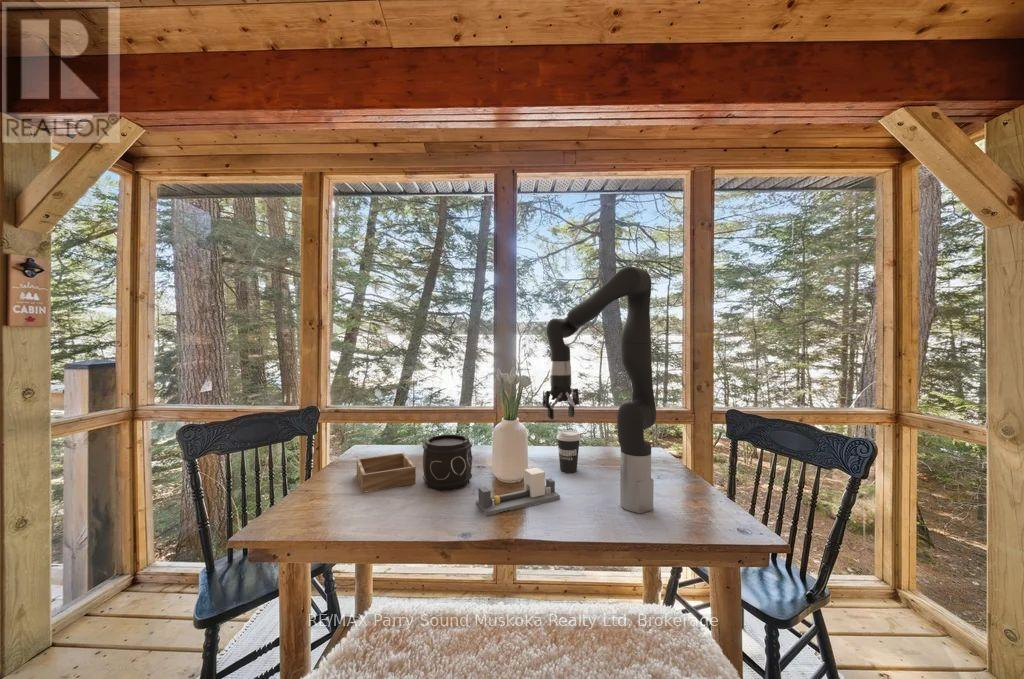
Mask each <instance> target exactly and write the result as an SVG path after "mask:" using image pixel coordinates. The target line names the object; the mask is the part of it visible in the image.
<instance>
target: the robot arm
mask: <svg viewBox="0 0 1024 679" xmlns="http://www.w3.org/2000/svg"><path fill="white" fill-rule="evenodd" d="M651 296H652V278H651V275H650V274H649V272H648V271H646V270H645V269H644V268H640V267H636V266H633V265H632V266H631V265H628V266H624V267H622V268H621V269H619V270H618V271H617V272H616V273H615V274H613V276H611V277H610V279H608V280H607V281H606V282H605V283H604V284H603V285H601V287H600V288H598V289H597V290H596V291H595V292H594V293H593V294H592V295H590V296H588V297H587V298H586V299H585V300H583V301H582V302H580V303H578V304H577V305H575V306H574V307H572V308H571V309H570V310H568V312H567V316H566V317H564V318H552V319H550V320H549V321H548V322H547V324H546V330H545V333H546V337H547V342H548V345H549V348H550V367H549V368H550V369H549V370H550V372H549V373H550V376H549V377H550V390H545V389H544V390H543V391H542V408H543V407H544V408H546V409H547V418H548V419H549V420H554V419H555V418H554V417H555V416H554V415H555V414H554V407H555V406H556V405H557V404H558V403H560V402H565V403H567V404H568V406H567V407H568V408H567V409H568V417H569V418H574V416H575V406H578V405H579V404H580V395H579V394H580V393H579V389H578V388H577V387H572V388H571V386H572V366H571V349H570V348H571V347H570V346H569V345H567V344H565V340H564V339H566V338H569V337H571V336H573V335H574V334H575V333H576V332H577V331H579V330H580V328H581V327H582V326H585V325H587V324H588V323H589V322H591V321H593V320H594V319H596V318H597V317H598V316H599V315H600V314H601V313H602V312H603V310H604V309H605V308H606V307H608V305H610V304H611V303H613V302H614V301H617V300H619V299H620V298H623V297H626V301H627V316H626V319H625V322H624V325H623V328H622V332H621V334H620V335H621V336H620V357H621V358H620V359H621V362H622V364H623V365H622V366H623V367H624V369H625V372H626V373H627V375H628V377H629V381H630V384H631V393H632V394H631V395H632V396H631V401H626V402H624V403H622V404H621V405H620V406H619V408H618V410H617V417H616V420H617V427H616V428H617V440H618V443H619V446H620V468H619V469H620V471H619V472H620V473H619V474H620V477H619V478H620V479H619V482H620V483H619V484H620V486H619V488H620V489H619V494H620V495H619V496H620V497H619V498H620V499H619V501H620V502H619V505H620V506H621V508H622V509H624V510H627V511H629V512H632V513H633V512H634V513H636V514H643V513H646V512H647V513H648V512H650V511H653V510H654V489H655V488H654V479H653V478H652V445H651V443H650V442H649V441H646V440H645V433H644V430H647V429H650V428H651V427H653V426H654V425H655V422H656V420H657V407H656V401H655V393H654V386H653V384H654V383H653V365H652V364H653V363H652V358H653V357H652V352H653V351H652V338H651V337H652V336H651V335H652V334H651V312H650V310H651V309H650V308H651ZM571 395H572V396H571Z"/></svg>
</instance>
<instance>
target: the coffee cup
mask: <svg viewBox="0 0 1024 679" xmlns="http://www.w3.org/2000/svg"><path fill="white" fill-rule="evenodd" d="M556 439H557V445H558V448H557V449H558V459H559V471H560V472H561V473H565V474H575V473H576V472H577V471H578V459H579V450H580V448H579V447H580V440H581V439H582V438H581V435H580V433H579V432H578V431H577V430H569V429H568V430H567V429H565V430H560V431H558V433H557V435H556Z"/></svg>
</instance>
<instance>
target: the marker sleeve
mask: <svg viewBox="0 0 1024 679" xmlns="http://www.w3.org/2000/svg"><path fill="white" fill-rule="evenodd" d="M523 471H524V473H523V476H524V477H523V478H524V482H523V483H524V485H523V486H524V487H523V488H524V491H529V490H530V497H532V498H533V497H537V496H541V495H545V486H546V471H545V470H543V469H540V467H538V466H537V467H533V468H526V469H523Z"/></svg>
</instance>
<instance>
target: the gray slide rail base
mask: <svg viewBox="0 0 1024 679" xmlns="http://www.w3.org/2000/svg"><path fill="white" fill-rule="evenodd" d="M477 490H478V492H477V493H478V494H477V496H478V499H477V500H475V505H476V506H477V507H479V509H480V510H481V511H482V512H483V513H484V512H485V513H486V514H487V515H489V516H492V515H491V514H493V515H495V514H494V513H497V514H499V513H498V512H502V513H504V512H503V511H506V512H508V511H507V510H510V511H515V510H518V509H521V508H527V507H531V506H532V507H533V506H536V505H539V504H543V503H549V502H552V501H556V500H560V499H561V495H560V494H558V493H557V492H556V481H555V480H553V479H552V478H545V495H541V496H537V497H533V498H532V497H530V490H529V491H524V490H519V491H514V492H509V493H505V494H500V495H493V496H492V495H491V494H492V493H491V492H492V491H491V490H490V489H489V488H488V487H487V486H486V485H485V486H480V487H478V488H477ZM485 513H484V514H485ZM486 514H485V515H486ZM487 515H486V516H487Z"/></svg>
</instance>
